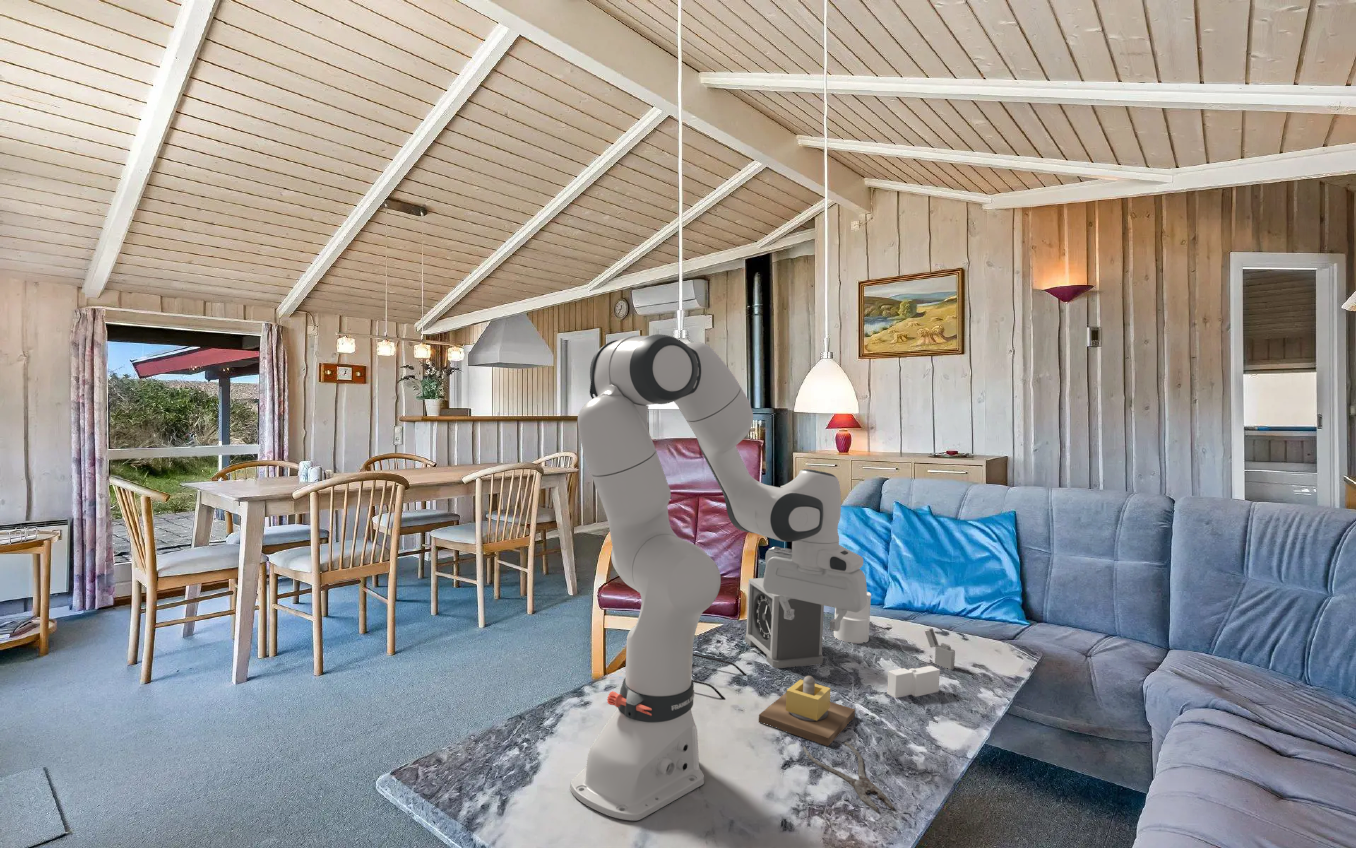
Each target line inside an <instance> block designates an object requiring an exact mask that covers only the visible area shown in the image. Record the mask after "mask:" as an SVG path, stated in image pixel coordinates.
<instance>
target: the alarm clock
mask: <svg viewBox="0 0 1356 848" xmlns="http://www.w3.org/2000/svg"><path fill="white" fill-rule="evenodd" d="M763 579H764V577H759V578H755V577H754V578H748V582H747V583H748V585H747V586H748V588H747V608H746V609H747V611H746V632H745V635H744V642H745V644H747V645H748V646H749V647H758V649H759V650H760V651H762V652H763V653H764V654H765V655H766V658H765V659H766V660H765V661H766V662H767V664H769V665H770V666H771V667H772V668H775V669H784V668H785V669H786V668H794V667H795V666H796V667H805V666H815V665H816V664H818V665H822V664H823V663H824V655H823V637H824V636H823V635H824V633H823V632H824V631H823V630H824V612H825V611H824V610H825V609H824V608H825V605H820V604H815V603H811V602H806V601H802V600H797V599H793V598H790V600H788V603H789V605H790V608H791V609H794V610H795V611H794V619H792V620H788V619H784V610H783V608H782V606H781V604H780V601H779V595H775V594H770V593H767V592H766V591H765V590H764V588H763ZM796 667H795V668H796Z"/></svg>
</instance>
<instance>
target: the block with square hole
mask: <svg viewBox="0 0 1356 848" xmlns="http://www.w3.org/2000/svg"><path fill="white" fill-rule="evenodd" d="M803 680H804V679H801V678H800V679H799V680H797V682H795V683H794V684H793V685H791V686H790V687H789V688H787V690H786V692H787V694H786V711H788V712H792V713H795V714H798V715H801V716H804V717H807V718H810V719H813V720H816V721H817V720H818V719H819V718H820V717H821V716H822V715H823V714H824V713H825V712H826V711H827V710H828V709H829V708H830V702H831V687H828V686H824V685H820V684H818V683H815V691H814V696H813V695H810V694H807V693H804V692H803Z"/></svg>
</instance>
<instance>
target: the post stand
mask: <svg viewBox="0 0 1356 848" xmlns="http://www.w3.org/2000/svg"><path fill="white" fill-rule="evenodd" d="M802 680H803V692H804V693H807V694H810V695H813V696H814V691H815V684H816V680H815V678H814V677H813V676H811V675H806V676H804V678H803V679H802ZM786 694H787V691H786V692H785V693H784V694H782V695H781V696H780V697H779V698H778V699H776V700H775V701H774V702H773V703H772V704H770V705H768V707H767V708H766V709H764V710H763V711H761V713H759V715H758V723H759V722H762V723H765V724H768V725H771V726H773V727H777V728H779V729H781V730H780V731H782V730H783V731H782V732H785V731H787V732H786V733H788V732H789V734H791V735H794V736H797V737H800V738H802V737H803V739H805V740H808V741H812V742H814V741H815V742H814V743H818V744H821V745H824V746H826V747H829V746H830V745H831V744H832V743H833V741H835V739H836V738H837V737H838V736H839V735H840V734H841V733H842V732H843V731H844V730H845V728H846V727H847V726H848V725H849V724H850V723H851V722H850V721H853V719H854V718H855V716H856V709H855V708H851V707H849V706H846V705H841V704H839V703H836V702H832V701H830V708H829V709H828V710H827V711H826V712H825V713H824V714H823V715H822V716H821V717H820V718H819V719H818V720H817V721H816V720H813V719H810V718H807V717H804V716H801V715H798V714H795V713H792V712H788V711H786ZM849 722H850V723H849ZM762 723H761V724H762ZM765 724H764V725H765ZM847 724H848V725H847ZM768 725H767V726H768ZM771 726H770V727H771ZM773 727H772V728H773ZM779 729H778V730H779ZM841 731H842V732H841Z"/></svg>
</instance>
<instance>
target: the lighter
mask: <svg viewBox="0 0 1356 848" xmlns="http://www.w3.org/2000/svg"><path fill="white" fill-rule="evenodd" d="M924 633H925V637H926V639H927V642H928V644H929V647H930V648H935V652H934V654H935V655H934V665H935V664H937V665H936V666H938V665H939V666H938V667H941V666H943V667H942V668H944V667H945V668H944V669H947V668H948V669H947V670H950V669H952V670H954V669H955V662H956V661H955V659H956V658H955V657H956V650H955V649H952V647H951V646H950V644H947V643H944V642H942V643H940V644H939V642H938V639H937V636H936V633H935V631H934V628H933V627H932V628H931V627H930V628H927V629H924Z"/></svg>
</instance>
